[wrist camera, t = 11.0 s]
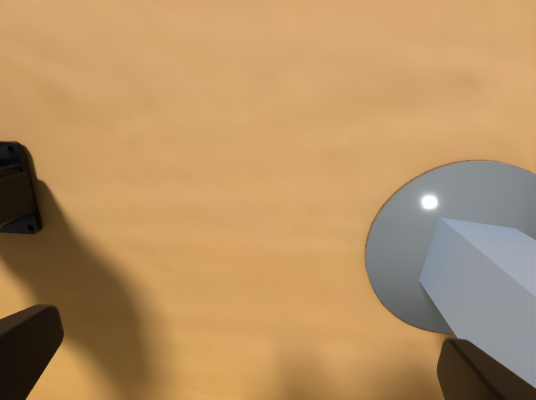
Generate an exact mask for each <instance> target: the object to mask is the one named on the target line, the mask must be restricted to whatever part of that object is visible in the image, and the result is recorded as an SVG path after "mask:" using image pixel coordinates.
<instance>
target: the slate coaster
mask: <svg viewBox="0 0 536 400" xmlns="http://www.w3.org/2000/svg"><path fill="white" fill-rule="evenodd" d="M440 217H441V218H447V219H454V220H461V221H468V222H475V223H481V224H488V225H495V226H502V227H509V228H515V229H518V230H519V231H521V232H523V233H524V234H526V235H528V236H529V237H531V238H533V239H535V240H536V175H535V174H533V173H532V172H530V171H527V170H525V169H522V168H519V167H517V166H514V165H510V164H506V163H502V162H498V161H489V160H467V161H460V162H453V163H450V164H446V165H442V166H439V167H436V168H434V169H431V170H429V171H426V172H424V173H423V174H421V175H419V176H417V177H415V178H413V179H412V180H410V181H409V182H408V183H406V184H405V185H403V186H402V187H401V188H400V189H398V190H397V191H396V192H395V193H394V194H393V195H392V196H391V197H390V198H389V199H388V200H387V201H386V202H385V204H384V205H383V206H382V208H381V209H380V211H379V212H378V213H377V215H376V217H375V219H374V221H373V223H372V225H371V227H370V230H369V233H368V235H367V240H366V245H365V266H366V270H367V274H368V278H369V280H370V283H371V285H372V287H373V290H374V292H375V293H376V295H377V297H378V298H379V300H380V301H381V302H382V303H383V304H384V306H385V307H386V308H387V309H388V310H389V311H391V312H392V313H393V314H394V315H395V316H397V317H398V318H400V319H401V320H403V321H405V322H407V323H409V324H411V325H413V326H416V327H419V328H421V329H425V330H429V331H433V332H441V333H454V332H453V331H452V329H451V328H450V326H449V325H448V323H447V322H446V320H445V319H444V317H443V316H442V314H441V313H440V311H439V310H438V308H437V307H436V305H435V304H434V302H433V301H432V299H431V298H430V296H429V295H428V293H427V292H426V290H425V289H424V287H423V286H422V284H421V283H420V281H419V279H420V276H421V273H422V270H423V267H424V264H425V261H426V258H427V255H428V252H429V249H430V246H431V243H432V240H433V237H434V234H435V231H436V228H437V225H438V222H439V219H440Z"/></svg>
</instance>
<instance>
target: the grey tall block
mask: <svg viewBox="0 0 536 400" xmlns="http://www.w3.org/2000/svg"><path fill="white" fill-rule="evenodd" d="M419 281H420V283H421V284H422V286H423V287H424V289H425V290H426V292H427V293H428V295H429V296H430V298H431V299H432V301H433V302H434V304H435V305H436V307H437V308H438V310H439V311H440V313H441V314H442V316H443V317H444V319H445V320H446V322H447V323H448V325H449V326H450V328H451V329H452V331H453V332H454V334H455V335H456V336H457V338H460V339H466V340H468V341H470V342H471V343H473V344H474V345H476V346H477V347H478V348H480V349H481V350H483V351H484V352H486V353H487V354H488V355H490V356H491V357H493V358H494V359H495V360H497V361H498V362H500V363H501V364H502V365H504V366H505V367H507V368H508V369H509V370H511V371H512V372H514V373H515V374H516V375H518V376H519V377H521V378H522V379H523V380H525V381H526V382H528V383H529V384H530V385H532V386H533V387H535V388H536V240H535V239H533V238H531V237H529V236H528V235H526V234H524V233H523V232H521V231H519V230H518V229H515V228H509V227H502V226H495V225H488V224H481V223H475V222H468V221H461V220H454V219H447V218H441V217H440V219H439V222H438V225H437V228H436V231H435V234H434V237H433V240H432V243H431V246H430V249H429V252H428V255H427V258H426V261H425V264H424V267H423V270H422V273H421V276H420V279H419Z"/></svg>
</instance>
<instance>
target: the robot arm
mask: <svg viewBox="0 0 536 400" xmlns="http://www.w3.org/2000/svg"><path fill="white" fill-rule="evenodd" d="M13 148H14V149H15V151H14V150H13ZM33 226H34V227H33ZM41 230H42V224H41V219H40V215H39V211H38V207H37V203H36V199H35V195H34V190H33V186H32V182H31V178H30V174H29V170H28V165H27V161H26V157H25V153H24V149H23V147H22V145H21V144H20V143H18V142H16V141H0V232H2V233H19V234H36V233H38V232H40V231H41ZM63 337H64V330H63V326H62V322H61V318H60V313H59V310H58V308H57V307H56V306H54V305H45V304H38V305H34V306H32V307H29V308H27V309H24V310H22V311H20V312H17V313H15V314H12V315H10V316H7V317H5V318H2V319H0V400H26V398H27V397H28V395H29V394H30V392H31V390H32V389H33V387H34V386H35V384H36V383H37V381H38V379H39V378H40V376H41V375H42V373H43V372H44V370H45V368H46V367H47V365H48V364H49V362H50V360H51V359H52V357H53V356H54V354H55V353H56V351H57V349H58V348H59V346H60V345H61V343H62V341H63ZM437 375H438V380H439V383H440V386H441V389H442V392H443V395H444V398H445V400H536V388H535V387H533V386H532V385H530V384H529V383H528V382H526V381H525V380H523V379H522V378H521V377H519V376H518V375H516V374H515V373H514V372H512V371H511V370H509V369H508V368H507V367H505V366H504V365H502V364H501V363H500V362H498V361H497V360H495V359H494V358H493V357H491V356H490V355H488V354H487V353H486V352H484V351H483V350H481V349H480V348H478V347H477V346H476V345H474V344H473V343H471V342H470V341H468V340H466V339H460V338H446V339H445V340H444V342H443V345H442V349H441V353H440V357H439V360H438V364H437Z"/></svg>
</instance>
